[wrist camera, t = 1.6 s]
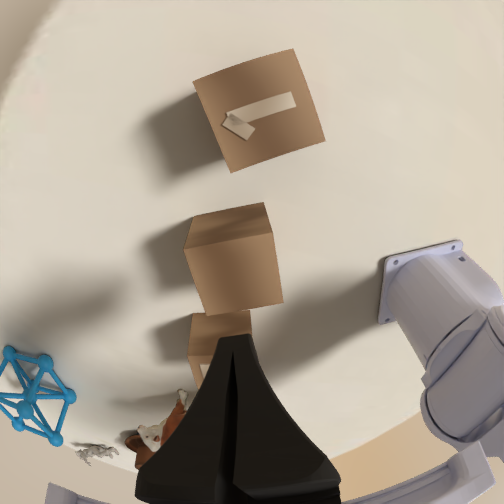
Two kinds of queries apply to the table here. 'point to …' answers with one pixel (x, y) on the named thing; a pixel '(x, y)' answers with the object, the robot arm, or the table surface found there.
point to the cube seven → (212, 337)
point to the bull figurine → (164, 425)
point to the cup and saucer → (139, 449)
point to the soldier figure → (95, 452)
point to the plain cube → (234, 259)
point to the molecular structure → (34, 396)
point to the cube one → (260, 109)
